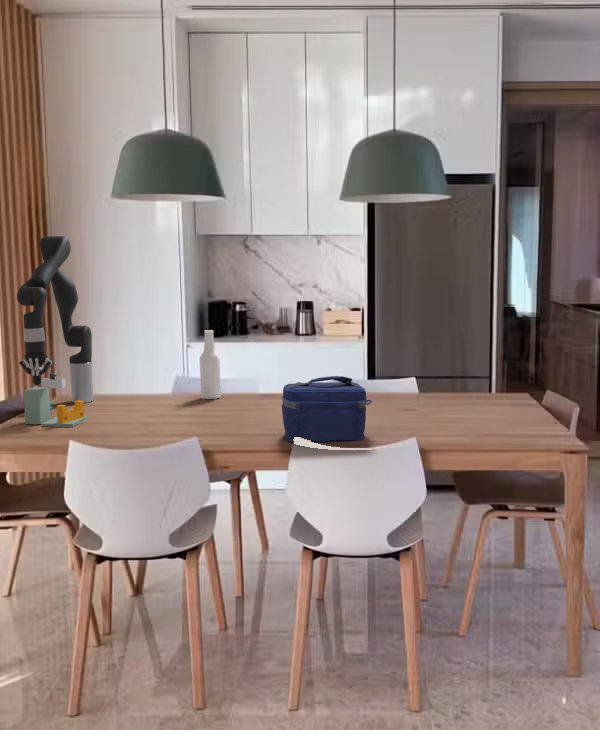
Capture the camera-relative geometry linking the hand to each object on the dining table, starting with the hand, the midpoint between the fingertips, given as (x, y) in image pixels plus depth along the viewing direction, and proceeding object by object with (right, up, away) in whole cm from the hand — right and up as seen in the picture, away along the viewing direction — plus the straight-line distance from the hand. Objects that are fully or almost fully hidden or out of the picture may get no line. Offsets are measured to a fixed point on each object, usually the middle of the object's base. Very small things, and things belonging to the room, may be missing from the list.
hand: (37, 385), depth 305 cm
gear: (-5, -12, +20) cm, 24 cm away
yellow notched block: (+12, -13, 0) cm, 18 cm away
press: (+7, -14, +1) cm, 16 cm away
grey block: (+6, -1, -1) cm, 6 cm away
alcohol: (+61, -7, +49) cm, 78 cm away
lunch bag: (+109, -17, -28) cm, 113 cm away
